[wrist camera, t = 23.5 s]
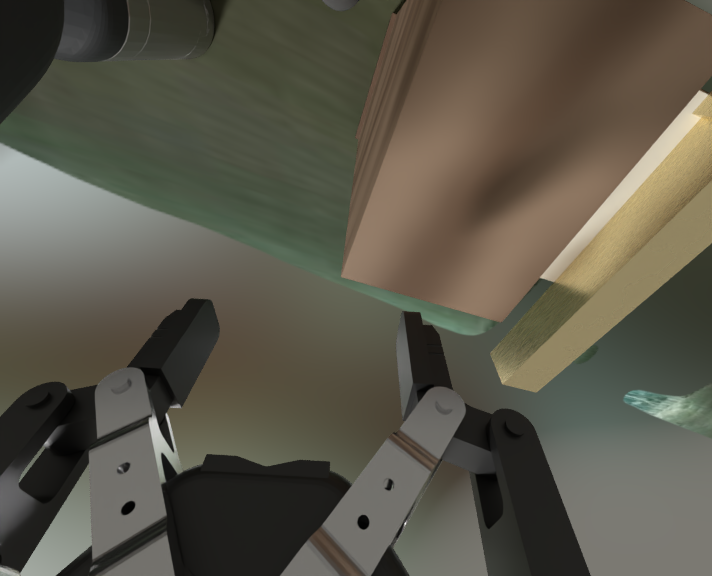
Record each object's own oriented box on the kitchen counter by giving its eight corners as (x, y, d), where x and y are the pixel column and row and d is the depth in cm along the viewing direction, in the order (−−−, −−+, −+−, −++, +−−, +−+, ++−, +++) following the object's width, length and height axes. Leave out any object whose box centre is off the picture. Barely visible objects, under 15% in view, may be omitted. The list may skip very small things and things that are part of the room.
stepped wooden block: (355, 135, 45) (332, 274, 17) (391, 14, 37) (465, -117, 9) (509, 191, 50) (701, 379, 21) (572, 93, 41) (1026, 183, 13)
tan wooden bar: (483, 351, 31) (500, 396, 27) (766, 28, 16) (901, 19, 12) (527, 363, 32) (549, 407, 28) (835, 66, 16) (983, 69, 12)
